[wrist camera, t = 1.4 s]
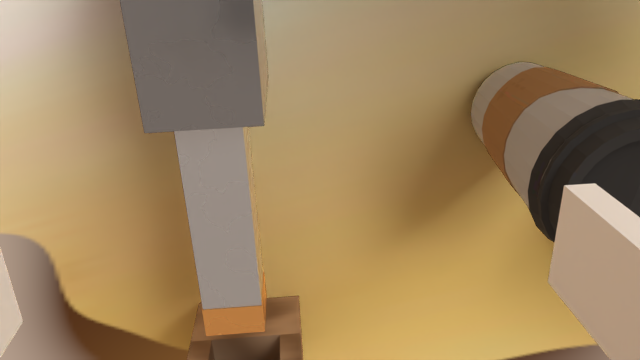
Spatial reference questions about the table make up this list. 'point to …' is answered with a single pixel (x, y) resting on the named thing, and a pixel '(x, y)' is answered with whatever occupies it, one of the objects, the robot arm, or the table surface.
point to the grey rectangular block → (198, 63)
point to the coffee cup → (558, 137)
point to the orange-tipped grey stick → (224, 228)
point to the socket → (254, 336)
